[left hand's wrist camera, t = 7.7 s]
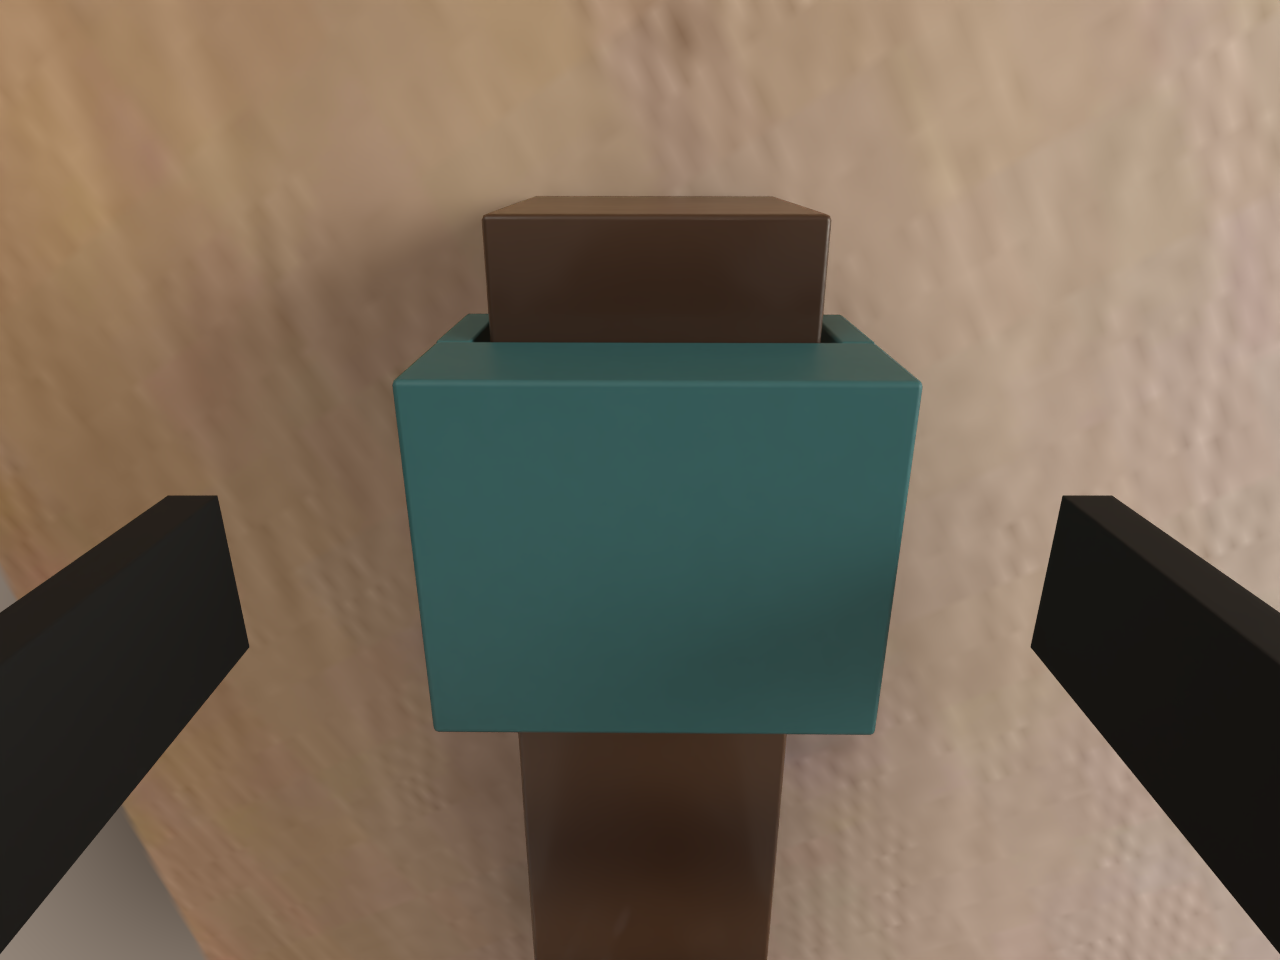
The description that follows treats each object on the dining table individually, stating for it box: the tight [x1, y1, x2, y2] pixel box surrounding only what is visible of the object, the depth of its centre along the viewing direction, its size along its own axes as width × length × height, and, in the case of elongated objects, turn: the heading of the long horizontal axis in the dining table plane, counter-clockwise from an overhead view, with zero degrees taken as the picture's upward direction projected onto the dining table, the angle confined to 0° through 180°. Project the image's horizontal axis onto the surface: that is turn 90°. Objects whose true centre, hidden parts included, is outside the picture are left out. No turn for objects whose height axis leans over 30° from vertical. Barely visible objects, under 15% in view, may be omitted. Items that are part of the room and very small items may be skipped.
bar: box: [482, 196, 831, 960], centre depth 20 cm, size 26×6×6 cm, turn 0°
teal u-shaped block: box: [392, 314, 922, 735], centre depth 14 cm, size 6×7×5 cm
